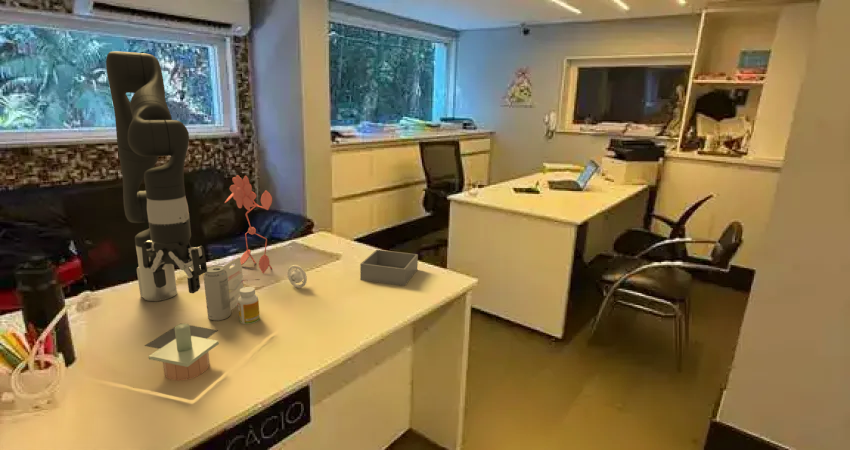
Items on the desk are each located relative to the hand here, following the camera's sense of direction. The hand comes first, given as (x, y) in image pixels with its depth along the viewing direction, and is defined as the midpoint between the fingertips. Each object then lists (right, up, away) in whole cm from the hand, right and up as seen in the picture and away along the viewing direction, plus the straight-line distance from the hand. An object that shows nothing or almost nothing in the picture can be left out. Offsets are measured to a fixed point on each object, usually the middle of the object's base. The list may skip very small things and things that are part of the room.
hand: (177, 289), depth 100 cm
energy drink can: (-4, -13, +30) cm, 33 cm away
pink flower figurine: (-10, -3, +64) cm, 65 cm away
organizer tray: (+41, -4, +66) cm, 78 cm away
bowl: (-1, -20, +6) cm, 20 cm away
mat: (-9, -16, +18) cm, 26 cm away
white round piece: (+12, -7, +53) cm, 55 cm away
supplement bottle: (+5, -13, +29) cm, 32 cm away
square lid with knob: (-1, -15, +4) cm, 15 cm away
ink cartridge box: (-5, -11, +37) cm, 39 cm away
